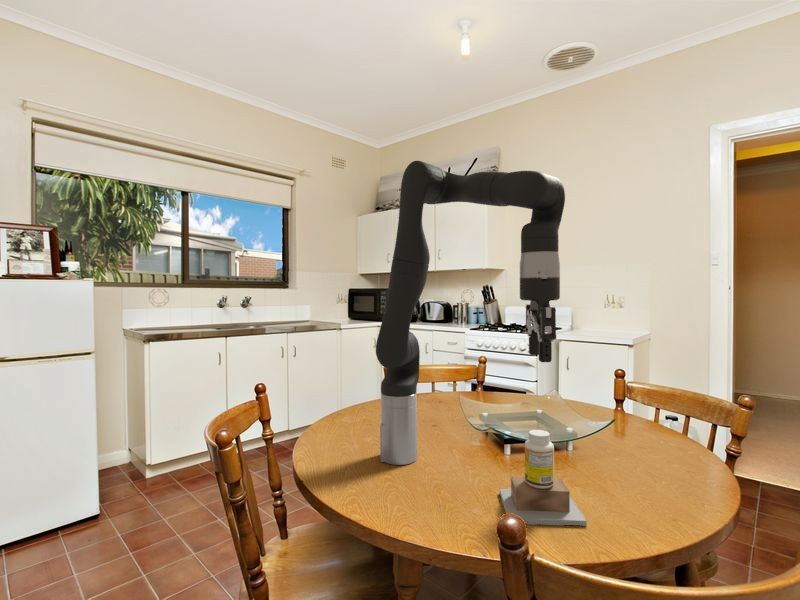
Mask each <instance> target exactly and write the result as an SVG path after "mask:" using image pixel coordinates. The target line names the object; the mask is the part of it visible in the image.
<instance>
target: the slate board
mask: <svg viewBox="0 0 800 600" xmlns="http://www.w3.org/2000/svg"><path fill="white" fill-rule="evenodd" d="M499 495H500V499H501V502H502V505H503V508H504V512H505V511H506V512H505V514H506V513H514V514H516V515H518V516H520V517H521V518H522V519H523V520H524V522H525V523H526V524H525V525H533V524H541V525H540V526H542V524H543V525H544V526H564V525H580V526H579V527H588V526H587V525H588V521H587V519H586V518H585V516H584V514H583V513H582V511H581V510H580V508H579V507H578V505H577V504H576V503H575V502H576V501H574V499H573V498H572V496H571V495H570V512H550V511H521V510H516V508H515V505H514V502H513V499H512V497H511V488H500V489H499ZM581 525H582V526H581Z"/></svg>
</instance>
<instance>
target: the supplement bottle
mask: <svg viewBox="0 0 800 600" xmlns="http://www.w3.org/2000/svg"><path fill="white" fill-rule="evenodd" d="M550 436H551V435H550V433H549V432H548V431H546V430H543V429H532V430H529V431H528V439H527V440H525V442H524V477H525V481H526V482H527V484H528V485H530V486H532V487H535V488H540V489H546V488H550V487H552V486H553V485H554V478H555V446H554V443H552V441H551V438H550Z"/></svg>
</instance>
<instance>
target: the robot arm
mask: <svg viewBox="0 0 800 600" xmlns="http://www.w3.org/2000/svg"><path fill="white" fill-rule="evenodd" d="M565 192H566V191H565V187H564V185H563V182H562V181H561V179H559V178H558V177H556V176H554V175H549V174H547V173H544V172H541V171H536V170H518V171H517V170H516V171H510V172H508V171H507V172H505V171H478V172H474V173H471V174H468V175H466V174H465V175H461V174H455V173H451V172H448V171H445V170H443V169H442V168H440V167H438V166H435V165H433V164H430V163H427V162H425V161H422V160H413V161H412V162H410V163H409V164H408V165H407V166H406V168H405V170H404V172H403V173H402V179H401V183H400V195H399V210H398V211H399V212H398V222H397V229H396V230H397V231H396V238H395V244H394V249H393V255H392V261H391V268H390V274H389V280H388V281H389V282H388V288H387V293H386V294H387V295H386V299H385V300H386V301H385V305H384V306H385V307H384V312H383V317H382V320H381V324H380V328H379V330H378V331H379V332H378V335H377V340H376V343H375V355H376V358H377V362H379V364H380V365H381V367H383V368H385V369H386V373H385V376H384V378H383V379H382V380H381V384H380V411H381V414H380V420H381V421H380V425H379V445H380V446H379V448H380V449H379V451H380V453H379V454H380V455H379V456H380V463H385V464H388V465H395V466H403V465H405V466H406V465H409V464H413V463H415V462H416V461H417V460H418V427H417V426H418V425H417V424H418V417H417V416H418V410H417V409H418V408H417V406H418V405H417V402H418V401H417V397H418V395H417V392H418V391H417V389H418V388H417V387H418V383H419V380H420V357H421V355H420V351H421V350H420V344H419V341H418V339H417V336H416V335H415V334H414V333H413V332H412V331H410V327H411V321H412V316H413V314H414V310H415V309H416V306H417V304H418V302H419V300H420V297H421V295H422V294H423V291H424V288H425V286H426V283H427V277H428V272H429V267H430V266H429V265H430V260H431V259H430V258H431V257H430V249H429V245H428V242H427V239H426V235H425V231H424V228H423V211H424V205H425V204H426V205H441V204H448V203H449V204H450V203H470V204H478V205H484V206H485V205H486V206H491V207H492V206H493V207H494V206H495V207H518V208H523V209H530V210H531V216H530V217H531V218H530V222H528V223H526V224H524V225H523V226H522V228H521V231H520V261H519V299H520V300H521V301H530V303H528V304H527V303H526V305H525V329H524V330H525V332H526V334H527V337H528V354H529V355H530V356H538V361H539V362H540V363H551V362H552V356H553V355H552V352H553V351H552V349H553V347H552V343H553V342H554V341H555V340H556V339H557V329H556V328H557V326H556V324H557V323H556V321H557V319H556V318H557V317H556V307H555V306H551V304H550V301H551V302H552V301H558V300H560V298H561V284H560V283H561V277H560V276H561V265H560V264H561V263H560V257H559V256H560V255H559V229H560V225H561V222H562V217H563V212H564V208H565V204H566V193H565Z"/></svg>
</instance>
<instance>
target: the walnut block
mask: <svg viewBox="0 0 800 600" xmlns="http://www.w3.org/2000/svg"><path fill="white" fill-rule="evenodd" d="M510 489H511V497H512V499H513V502H514V505H515V508H516V510H521V511H550V512H570V496H571V494H570V489H568V486H567V485H566V483H565V482H564V480H563V479H562V478H561V477H554V485H553V486H552V487H550V488H546V489H540V488H535V487H532V486H530V485H528V484H527V482H526V481H525V476H510Z"/></svg>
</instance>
